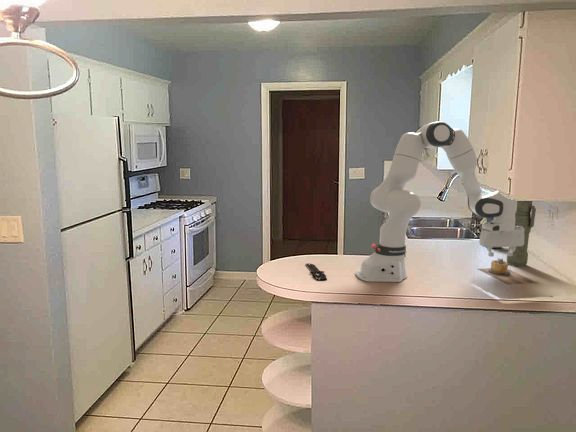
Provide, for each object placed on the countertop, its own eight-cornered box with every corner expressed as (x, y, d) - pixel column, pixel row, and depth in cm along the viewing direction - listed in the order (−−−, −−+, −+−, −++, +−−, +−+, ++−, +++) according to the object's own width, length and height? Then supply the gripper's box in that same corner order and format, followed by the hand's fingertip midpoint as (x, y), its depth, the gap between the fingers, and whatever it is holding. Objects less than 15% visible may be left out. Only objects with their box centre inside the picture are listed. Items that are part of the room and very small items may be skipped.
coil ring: (496, 273, 213) (497, 264, 212) (488, 269, 219) (488, 260, 218) (510, 272, 214) (511, 264, 213) (501, 268, 220) (501, 260, 220)
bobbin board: (507, 287, 200) (509, 270, 199) (477, 272, 221) (478, 256, 220) (537, 285, 203) (538, 268, 201) (504, 270, 224) (505, 255, 223)
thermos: (525, 271, 224) (533, 196, 217) (500, 265, 232) (507, 193, 226) (533, 267, 229) (541, 195, 223) (508, 262, 238) (515, 192, 232)
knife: (304, 264, 231) (304, 261, 231) (318, 264, 232) (318, 261, 232) (313, 282, 206) (313, 278, 205) (328, 281, 206) (328, 278, 206)
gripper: (520, 224, 217) (516, 253, 220) (478, 224, 214) (475, 254, 216) (529, 226, 211) (525, 257, 214) (487, 227, 207) (484, 258, 210)
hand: (500, 256), depth 215 cm, fingers open, 8 cm apart
